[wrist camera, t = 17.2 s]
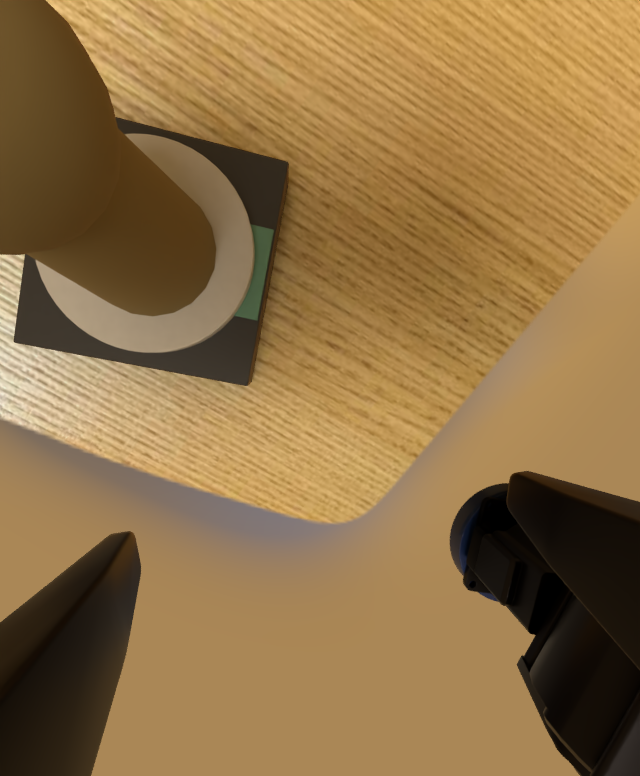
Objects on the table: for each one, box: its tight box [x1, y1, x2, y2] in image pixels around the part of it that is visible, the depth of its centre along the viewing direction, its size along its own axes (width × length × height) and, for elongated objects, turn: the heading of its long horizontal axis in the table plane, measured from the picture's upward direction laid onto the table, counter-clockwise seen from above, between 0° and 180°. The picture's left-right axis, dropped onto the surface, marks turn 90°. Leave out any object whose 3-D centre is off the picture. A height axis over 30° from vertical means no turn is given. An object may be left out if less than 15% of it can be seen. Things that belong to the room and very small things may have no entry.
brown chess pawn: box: [0, 0, 216, 316], centre depth 11 cm, size 6×6×11 cm
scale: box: [14, 117, 289, 386], centre depth 18 cm, size 11×11×3 cm
